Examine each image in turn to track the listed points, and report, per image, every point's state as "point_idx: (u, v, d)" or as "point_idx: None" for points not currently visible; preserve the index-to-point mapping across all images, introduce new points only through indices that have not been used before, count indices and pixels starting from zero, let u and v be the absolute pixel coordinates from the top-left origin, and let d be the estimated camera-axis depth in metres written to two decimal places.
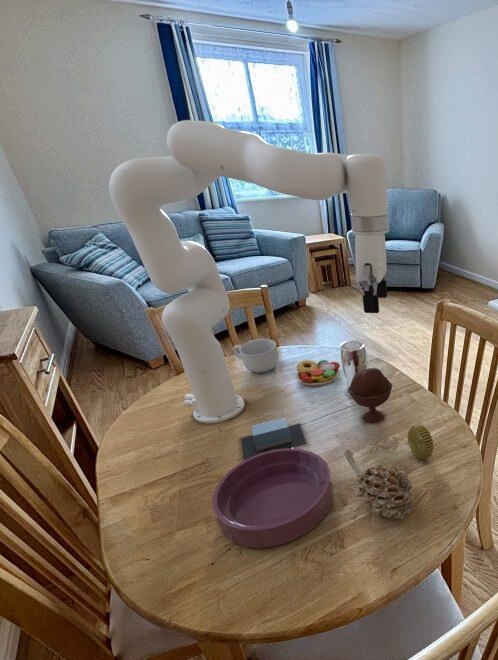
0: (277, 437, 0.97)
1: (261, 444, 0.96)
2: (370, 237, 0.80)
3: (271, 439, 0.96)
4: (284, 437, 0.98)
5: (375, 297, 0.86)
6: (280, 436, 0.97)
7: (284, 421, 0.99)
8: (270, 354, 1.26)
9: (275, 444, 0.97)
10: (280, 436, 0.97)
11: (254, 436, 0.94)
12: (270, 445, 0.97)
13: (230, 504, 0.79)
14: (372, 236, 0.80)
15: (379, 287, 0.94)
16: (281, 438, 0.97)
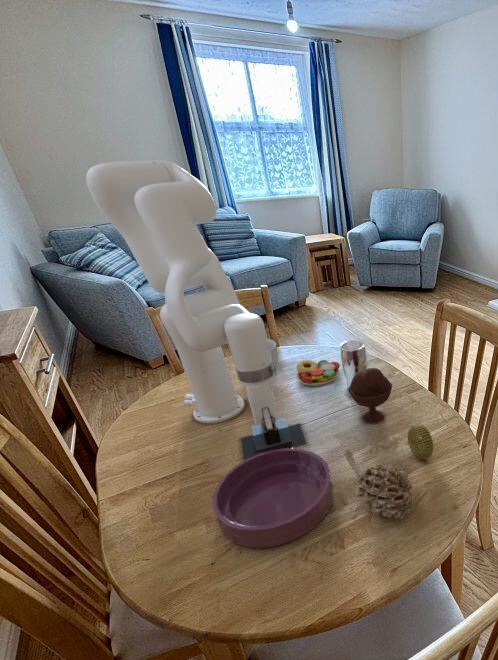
0: None
1: (261, 444, 0.96)
2: (264, 386, 0.87)
3: None
4: (284, 437, 0.98)
5: (276, 430, 0.95)
6: (280, 436, 0.97)
7: (284, 421, 0.99)
8: None
9: (275, 444, 0.97)
10: (280, 436, 0.97)
11: (254, 436, 0.94)
12: (270, 445, 0.97)
13: (230, 504, 0.79)
14: (265, 384, 0.87)
15: None
16: (281, 438, 0.97)
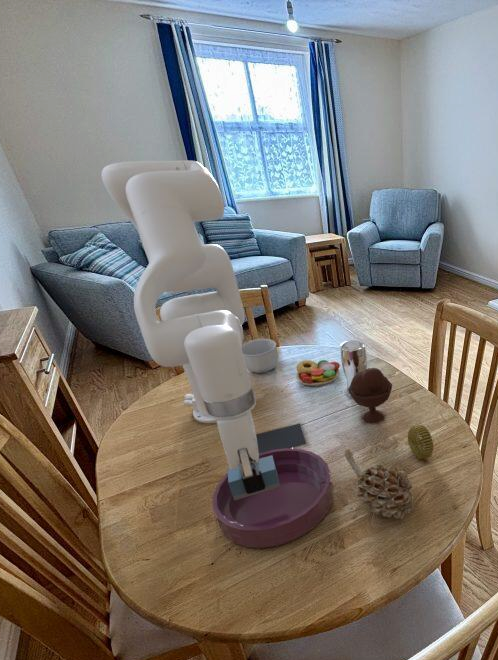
0: None
1: (240, 492, 0.74)
2: (240, 421, 0.66)
3: None
4: (269, 482, 0.76)
5: (258, 475, 0.74)
6: (264, 481, 0.76)
7: (270, 461, 0.77)
8: (270, 354, 1.26)
9: (258, 491, 0.76)
10: (264, 481, 0.75)
11: (230, 483, 0.73)
12: (252, 493, 0.75)
13: (230, 504, 0.79)
14: (241, 419, 0.66)
15: None
16: (266, 483, 0.76)
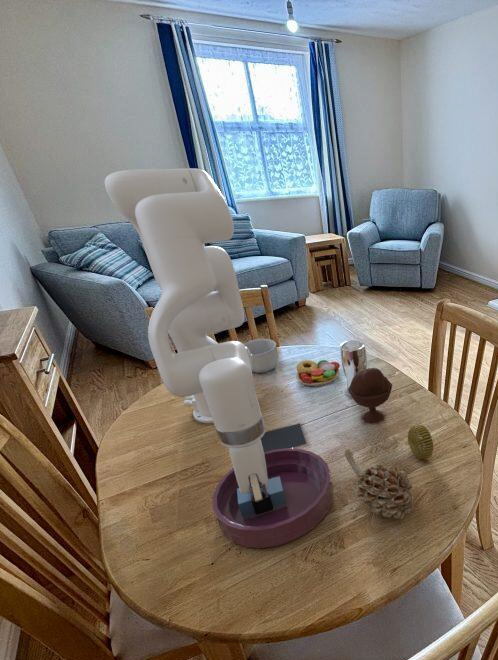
0: None
1: (249, 512, 0.78)
2: (251, 449, 0.69)
3: None
4: (277, 503, 0.80)
5: None
6: (272, 502, 0.79)
7: (277, 482, 0.81)
8: (270, 354, 1.26)
9: None
10: (272, 502, 0.79)
11: (240, 504, 0.76)
12: None
13: (230, 504, 0.79)
14: (252, 447, 0.69)
15: None
16: (274, 504, 0.79)
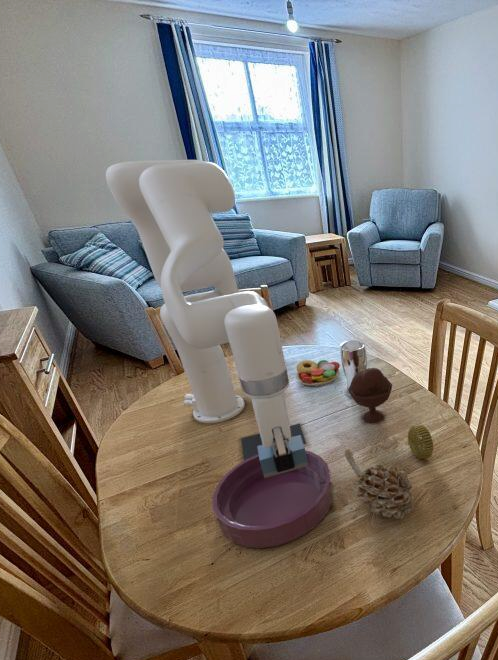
0: None
1: (270, 470, 0.76)
2: (275, 400, 0.67)
3: None
4: (298, 461, 0.78)
5: (289, 454, 0.75)
6: (294, 460, 0.77)
7: (298, 440, 0.79)
8: None
9: None
10: None
11: (261, 461, 0.74)
12: None
13: (230, 504, 0.79)
14: (277, 398, 0.67)
15: None
16: (295, 462, 0.77)
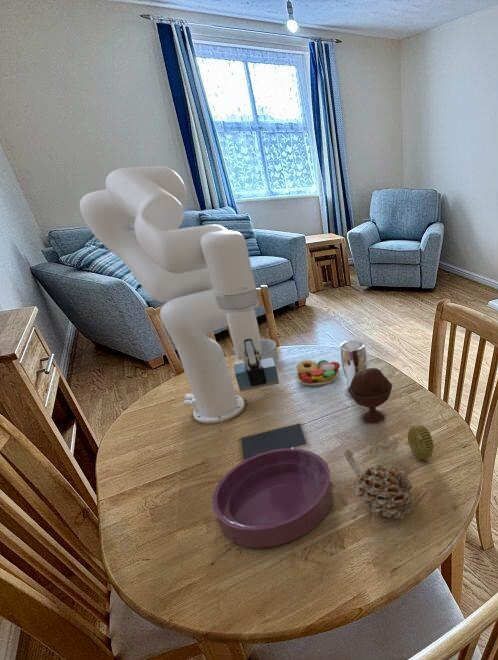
0: None
1: (245, 384, 0.87)
2: (246, 314, 0.78)
3: None
4: (270, 378, 0.89)
5: (261, 369, 0.86)
6: (266, 376, 0.88)
7: (270, 361, 0.90)
8: (270, 354, 1.26)
9: (260, 385, 0.88)
10: (265, 376, 0.88)
11: (237, 374, 0.85)
12: (255, 386, 0.88)
13: (230, 504, 0.79)
14: (247, 312, 0.78)
15: None
16: (267, 379, 0.88)
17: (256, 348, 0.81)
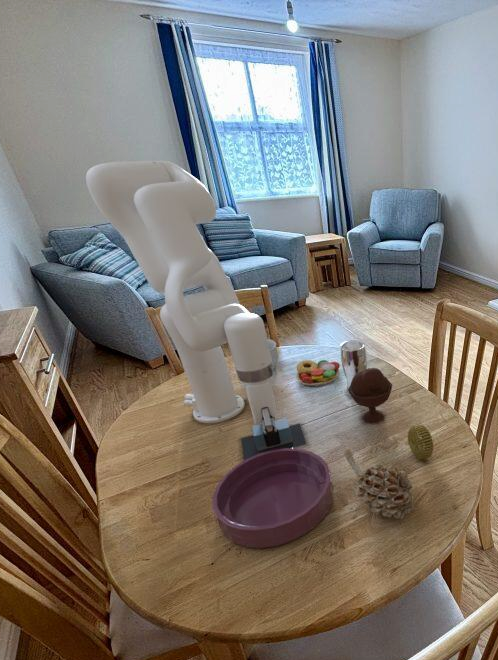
0: None
1: (262, 444, 0.96)
2: (263, 386, 0.87)
3: None
4: (285, 438, 0.97)
5: (276, 432, 0.93)
6: (281, 436, 0.97)
7: (285, 421, 0.98)
8: None
9: None
10: (281, 436, 0.97)
11: (255, 436, 0.94)
12: None
13: (230, 504, 0.79)
14: (265, 384, 0.87)
15: None
16: (282, 438, 0.97)
17: (272, 414, 0.90)
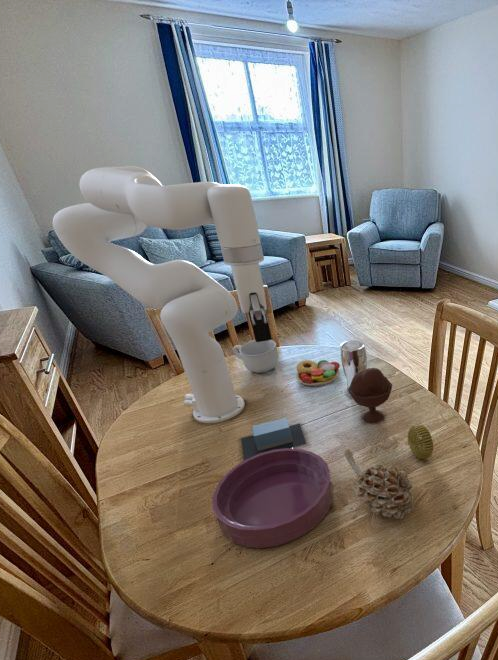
0: (278, 437, 0.97)
1: (262, 444, 0.96)
2: (251, 267, 0.80)
3: (272, 440, 0.96)
4: (285, 438, 0.97)
5: (266, 324, 0.86)
6: (281, 436, 0.97)
7: (285, 421, 0.98)
8: (270, 354, 1.26)
9: (276, 444, 0.97)
10: (281, 436, 0.97)
11: (255, 436, 0.94)
12: (271, 445, 0.97)
13: (230, 504, 0.79)
14: (253, 265, 0.80)
15: None
16: (282, 438, 0.97)
17: (261, 302, 0.83)
